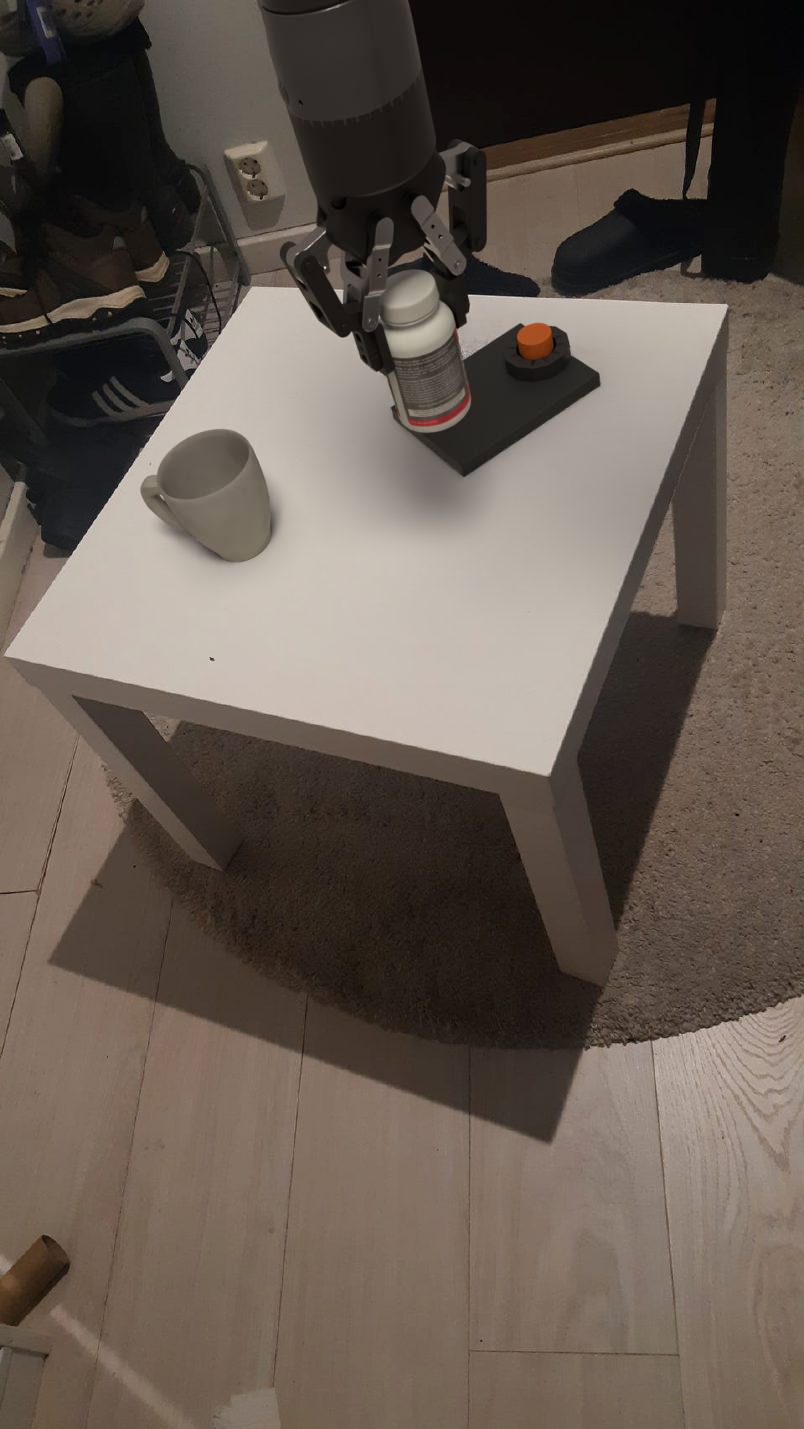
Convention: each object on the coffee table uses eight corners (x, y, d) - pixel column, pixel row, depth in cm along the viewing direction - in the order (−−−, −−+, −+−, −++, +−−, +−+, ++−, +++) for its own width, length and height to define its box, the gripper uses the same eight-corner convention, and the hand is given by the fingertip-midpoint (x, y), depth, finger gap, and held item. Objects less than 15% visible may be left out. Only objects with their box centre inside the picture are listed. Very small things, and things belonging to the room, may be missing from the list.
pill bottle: (488, 399, 70) (463, 275, 62) (436, 446, 68) (404, 324, 60) (434, 375, 72) (403, 253, 65) (383, 419, 71) (346, 300, 63)
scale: (526, 331, 99) (522, 305, 96) (605, 382, 92) (603, 355, 90) (393, 418, 96) (385, 394, 94) (464, 477, 89) (457, 452, 87)
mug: (299, 504, 93) (263, 425, 85) (274, 576, 88) (234, 499, 81) (186, 507, 96) (142, 431, 89) (157, 577, 92) (108, 503, 84)
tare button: (539, 334, 94) (537, 318, 93) (560, 347, 92) (558, 331, 91) (512, 351, 93) (510, 335, 92) (533, 365, 92) (531, 349, 90)
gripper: (274, 163, 49) (363, 427, 63) (500, 28, 51) (538, 311, 65) (207, 122, 53) (304, 378, 67) (418, -1, 56) (470, 271, 69)
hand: (419, 344), depth 66 cm, fingers closed on pill bottle, 5 cm apart
